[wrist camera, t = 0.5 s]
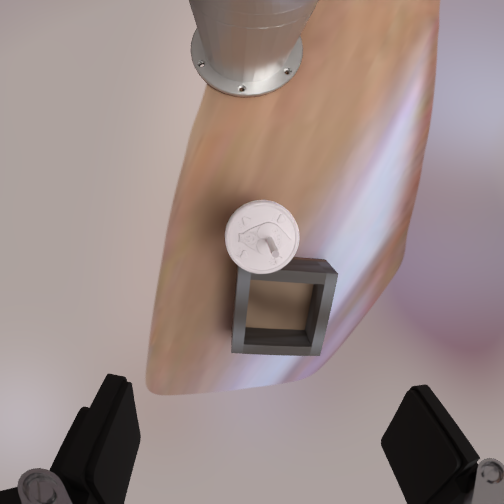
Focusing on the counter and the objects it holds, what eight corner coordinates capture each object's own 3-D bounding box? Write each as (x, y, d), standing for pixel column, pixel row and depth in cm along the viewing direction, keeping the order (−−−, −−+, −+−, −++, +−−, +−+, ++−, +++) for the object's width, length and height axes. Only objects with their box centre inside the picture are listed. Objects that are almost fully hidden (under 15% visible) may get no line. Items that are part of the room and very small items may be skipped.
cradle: (238, 252, 36) (238, 266, 31) (325, 259, 37) (338, 273, 32) (231, 331, 39) (231, 352, 34) (311, 334, 40) (319, 355, 35)
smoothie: (281, 246, 36) (306, 296, 23) (226, 244, 36) (220, 294, 22) (285, 192, 34) (316, 211, 21) (228, 189, 34) (223, 206, 21)
